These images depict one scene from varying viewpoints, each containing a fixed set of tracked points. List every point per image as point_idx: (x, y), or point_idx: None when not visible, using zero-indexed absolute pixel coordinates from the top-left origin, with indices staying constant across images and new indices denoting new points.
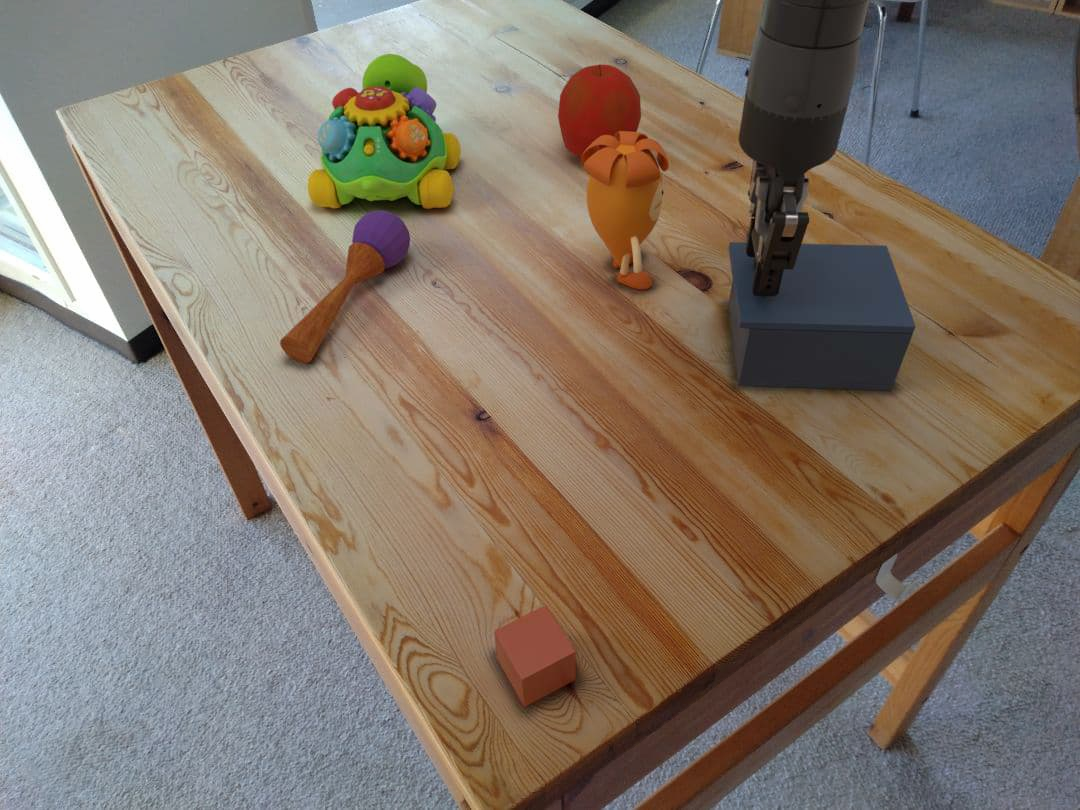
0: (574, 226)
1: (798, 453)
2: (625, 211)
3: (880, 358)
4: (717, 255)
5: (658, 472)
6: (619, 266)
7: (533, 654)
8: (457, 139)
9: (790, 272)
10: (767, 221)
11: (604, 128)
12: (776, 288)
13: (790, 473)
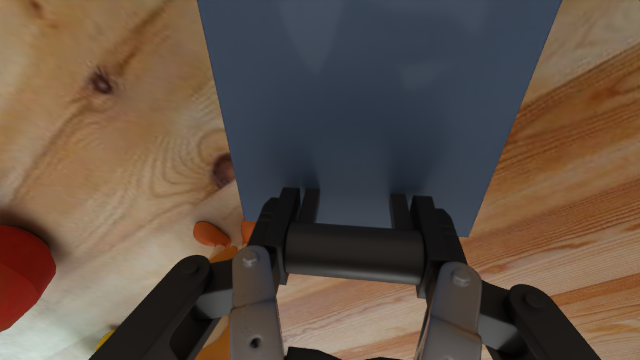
0: (170, 265)
1: (597, 87)
2: None
3: None
4: (168, 139)
5: (556, 234)
6: (229, 241)
7: None
8: (98, 347)
9: (328, 142)
10: (278, 262)
11: (11, 289)
12: (452, 223)
13: (630, 104)
